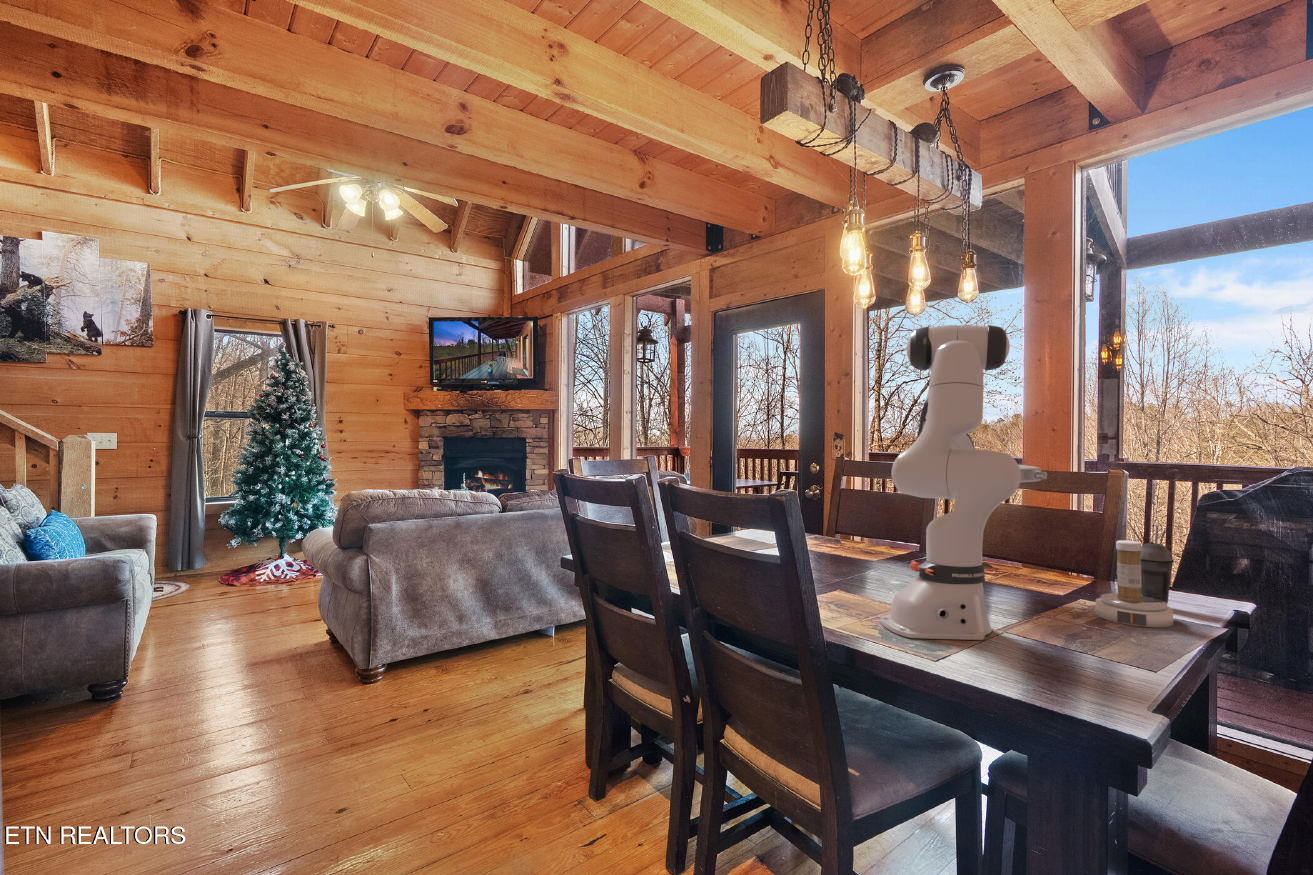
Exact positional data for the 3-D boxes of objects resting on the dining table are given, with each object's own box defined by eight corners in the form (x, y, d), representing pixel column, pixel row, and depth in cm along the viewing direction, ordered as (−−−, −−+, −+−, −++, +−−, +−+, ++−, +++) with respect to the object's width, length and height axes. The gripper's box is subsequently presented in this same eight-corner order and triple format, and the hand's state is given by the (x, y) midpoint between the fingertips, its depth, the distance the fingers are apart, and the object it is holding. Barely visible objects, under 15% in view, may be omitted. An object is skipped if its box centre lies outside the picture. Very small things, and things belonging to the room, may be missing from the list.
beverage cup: (1160, 603, 152) (1159, 523, 152) (1182, 611, 145) (1181, 527, 145) (1128, 602, 153) (1127, 522, 153) (1149, 610, 145) (1148, 526, 146)
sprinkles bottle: (1139, 598, 140) (1138, 540, 140) (1144, 603, 136) (1143, 543, 136) (1115, 596, 142) (1114, 539, 143) (1119, 601, 138) (1118, 542, 138)
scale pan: (1131, 612, 133) (1131, 607, 133) (1087, 598, 145) (1087, 594, 145) (1182, 610, 134) (1181, 606, 134) (1134, 596, 146) (1134, 592, 146)
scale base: (1130, 628, 132) (1130, 614, 132) (1080, 610, 146) (1080, 597, 146) (1190, 626, 133) (1190, 612, 133) (1135, 608, 147) (1135, 596, 147)
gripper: (956, 462, 166) (1000, 464, 152) (1012, 461, 172) (1059, 463, 159) (956, 486, 165) (1001, 489, 152) (1013, 484, 172) (1060, 487, 159)
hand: (1031, 475), depth 156 cm, fingers open, 8 cm apart
